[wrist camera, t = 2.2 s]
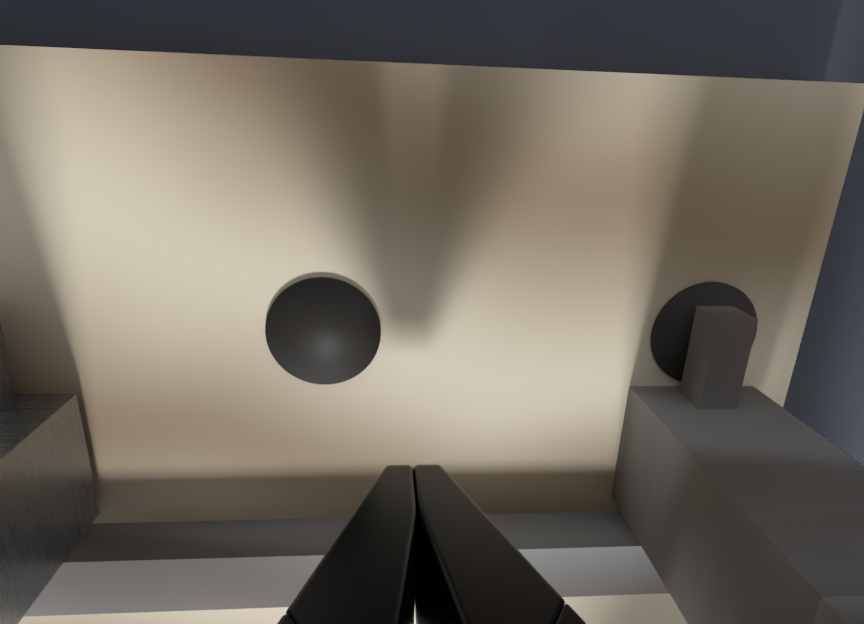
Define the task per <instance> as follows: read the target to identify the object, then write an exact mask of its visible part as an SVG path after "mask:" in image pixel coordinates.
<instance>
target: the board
mask: <svg viewBox="0 0 864 624" xmlns="http://www.w3.org/2000/svg"><path fill="white" fill-rule="evenodd" d="M863 111H864V83H844V82H822V81H799V80H777V79H754V78H732V77H710V76H687V75H665V74H642V73H620V72H598V71H575V70H553V69H530V68H508V67H485V66H463V65H441V64H418V63H396V62H373V61H351V60H329V59H306V58H284V57H261V56H239V55H216V54H194V53H172V52H149V51H127V50H104V49H82V48H60V47H37V46H15V45H0V323H1V328H2V332H3V336H4V340H5V345H6V349H7V353H8V357H9V362H10V366H11V370H12V374H13V379H14V383H15V387H16V391H17V394H77V399H78V404H79V410H80V415H81V420H82V425H83V430H84V435H85V440H86V445H87V450H88V455H89V460H90V465H91V471H92V476H93V481H94V486H95V491H96V496H97V501H98V506H99V511H100V514H99V515H98V516H97V518H96V519H95V520H94V522H93V523H92V524H91V526H90V527H89V528H88V530H87V531H86V532H85V534H84V535H83V537H82V538H81V539H80V541H79V542H78V543H77V545H76V546H75V547H74V549H73V550H72V551H71V553H70V554H69V555H68V557H67V558H66V560H65V561H64V562H63V564H62V565H61V566H60V568H59V569H58V570H57V572H56V573H55V574H54V576H53V577H52V578H51V580H50V581H49V583H48V584H47V585H46V587H45V588H44V589H43V591H42V592H41V593H40V595H39V596H38V597H37V599H36V600H35V601H34V603H33V604H32V606H31V607H30V608H29V610H28V611H27V612H26V614H25V615H24V616H23V618H22V619H21V620H20V622H19V623H18V624H277V623H278V622H279V620H280V619H281V617H282V616H283V615H286V611H287V609H288V608H289V606H290V605H291V603H292V602H293V601H294V599H295V598H296V596H297V595H298V593H299V592H300V590H301V589H302V587H303V586H304V585H305V583H306V582H307V580H308V579H309V577H310V576H311V574H312V573H313V571H314V570H315V569H316V567H317V566H318V564H319V563H320V561H321V560H322V558H323V557H324V555H325V554H326V553H327V551H328V550H329V548H330V547H331V545H332V544H333V542H334V541H335V539H336V538H337V537H338V535H339V534H340V532H341V531H342V529H343V528H344V526H345V525H346V523H347V522H348V521H349V519H350V518H351V516H352V515H353V513H354V512H355V510H356V509H357V507H358V506H359V505H360V503H361V502H362V500H363V499H364V497H365V496H366V494H367V493H368V491H369V490H370V489H371V487H372V486H373V484H374V483H375V481H376V480H377V478H378V477H379V475H380V474H381V473H382V471H383V470H384V468H385V467H386V466H388V465H410V466H412V468H414V466H416V465H427V464H438V465H440V466H441V467H442V468H443V469H444V470H445V471H446V472H447V473H448V474H449V475H450V476H451V477H452V479H453V480H454V481H455V482H456V483H457V484H458V485H459V486H460V487H461V488H462V489H463V491H464V492H465V493H466V494H467V495H468V496H469V497H470V498H471V499H472V500H473V501H474V503H475V504H476V505H477V506H478V507H479V508H480V509H481V510H482V511H483V512H484V513H485V514H486V516H487V517H488V518H489V519H490V520H491V521H492V522H493V523H494V524H495V525H496V526H497V528H498V529H499V530H500V531H501V532H502V533H503V534H504V535H505V536H506V537H507V538H508V539H509V541H510V542H511V543H512V544H513V545H514V546H515V547H516V548H517V549H518V550H519V551H520V553H521V554H522V555H523V556H524V557H525V558H526V559H527V560H528V561H529V562H530V563H531V564H532V566H533V567H534V568H535V569H536V570H537V571H538V572H539V573H540V574H541V575H542V576H543V578H544V579H545V580H546V581H547V582H548V583H549V584H550V585H551V586H552V587H553V588H554V589H555V591H556V592H557V593H558V594H559V595H560V596H561V597H562V598H563V599H564V601H565V604H568V605H570V607H571V608H572V609H573V610H574V611H575V612H576V613H577V614H578V615H579V616H580V617H581V618H582V620H583V621H584V622H585V623H586V624H864V466H863V465H862V464H860V463H859V462H858V461H856V460H855V459H853V458H852V457H851V456H849V455H848V454H847V453H845V452H844V451H842V450H841V449H840V448H838V447H837V446H835V445H834V444H833V443H831V442H830V441H829V440H827V439H826V438H824V437H823V436H822V435H820V434H819V433H817V432H816V431H815V430H813V429H812V428H811V427H809V426H808V425H806V424H805V423H804V422H802V421H801V420H799V419H798V418H797V417H795V416H794V415H792V414H791V413H790V412H788V411H787V410H786V409H784V408H783V406H784V402H785V399H786V395H787V391H788V388H789V384H790V380H791V376H792V373H793V369H794V365H795V362H796V358H797V354H798V351H799V347H800V343H801V340H802V336H803V332H804V328H805V325H806V321H807V317H808V314H809V310H810V306H811V303H812V299H813V295H814V292H815V288H816V284H817V281H818V277H819V273H820V269H821V266H822V262H823V258H824V255H825V251H826V247H827V244H828V240H829V236H830V233H831V229H832V225H833V222H834V218H835V214H836V210H837V207H838V203H839V199H840V196H841V192H842V188H843V185H844V181H845V177H846V174H847V170H848V166H849V162H850V159H851V155H852V151H853V148H854V144H855V140H856V137H857V133H858V129H859V126H860V122H861V118H862V115H863ZM414 624H416V615H415V610H414Z"/></svg>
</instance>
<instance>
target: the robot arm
mask: <svg viewBox="0 0 864 624" xmlns="http://www.w3.org/2000/svg"><path fill="white" fill-rule="evenodd" d="M414 610H415V615H416V624H586V623H585V622H584V621H583V620H582V618H581V617H580V616H579V615H578V614H577V613H576V612H575V611H574V610H573V609H572V608H571V607H570V605H568V604H565V601H564V599H563V598H562V597H561V596H560V595H559V594H558V593H557V592H556V591H555V589H554V588H553V587H552V586H551V585H550V584H549V583H548V582H547V581H546V580H545V579H544V578H543V576H542V575H541V574H540V573H539V572H538V571H537V570H536V569H535V568H534V567H533V566H532V564H531V563H530V562H529V561H528V560H527V559H526V558H525V557H524V556H523V555H522V554H521V553H520V551H519V550H518V549H517V548H516V547H515V546H514V545H513V544H512V543H511V542H510V541H509V539H508V538H507V537H506V536H505V535H504V534H503V533H502V532H501V531H500V530H499V529H498V528H497V526H496V525H495V524H494V523H493V522H492V521H491V520H490V519H489V518H488V517H487V516H486V514H485V513H484V512H483V511H482V510H481V509H480V508H479V507H478V506H477V505H476V504H475V503H474V501H473V500H472V499H471V498H470V497H469V496H468V495H467V494H466V493H465V492H464V491H463V489H462V488H461V487H460V486H459V485H458V484H457V483H456V482H455V481H454V480H453V479H452V477H451V476H450V475H449V474H448V473H447V472H446V471H445V470H444V469H443V468H442V467H441V466H440V465H438V464H427V465H416V466H414V468H412V466H410V465H388V466H386V467H385V468H384V470H383V471H382V473H381V474H380V475H379V477H378V478H377V480H376V481H375V483H374V484H373V486H372V487H371V489H370V490H369V491H368V493H367V494H366V496H365V497H364V499H363V500H362V502H361V503H360V505H359V506H358V507H357V509H356V510H355V512H354V513H353V515H352V516H351V518H350V519H349V521H348V522H347V523H346V525H345V526H344V528H343V529H342V531H341V532H340V534H339V535H338V537H337V538H336V539H335V541H334V542H333V544H332V545H331V547H330V548H329V550H328V551H327V553H326V554H325V555H324V557H323V558H322V560H321V561H320V563H319V564H318V566H317V567H316V569H315V570H314V571H313V573H312V574H311V576H310V577H309V579H308V580H307V582H306V583H305V585H304V586H303V587H302V589H301V590H300V592H299V593H298V595H297V596H296V598H295V599H294V601H293V602H292V603H291V605H290V606H289V608H288V609H287V611H286V615H283V616H282V617H281V619H280V620H279V622H278V623H277V624H414Z"/></svg>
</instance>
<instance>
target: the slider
mask: <svg viewBox="0 0 864 624" xmlns="http://www.w3.org/2000/svg"><path fill="white" fill-rule="evenodd" d="M99 514H100V511H99V506H98V501H97V496H96V491H95V486H94V481H93V476H92V471H91V465H90V460H89V455H88V450H87V445H86V440H85V435H84V430H83V425H82V420H81V415H80V410H79V404H78V399H77V394H17V391H16V387H15V383H14V379H13V374H12V370H11V366H10V362H9V357H8V353H7V349H6V345H5V340H4V336H3V332H2V328H1V323H0V624H18V623H19V622H20V620H21V619H22V618H23V616H24V615H25V614H26V612H27V611H28V610H29V608H30V607H31V606H32V604H33V603H34V601H35V600H36V599H37V597H38V596H39V595H40V593H41V592H42V591H43V589H44V588H45V587H46V585H47V584H48V583H49V581H50V580H51V578H52V577H53V576H54V574H55V573H56V572H57V570H58V569H59V568H60V566H61V565H62V564H63V562H64V561H65V560H66V558H67V557H68V555H69V554H70V553H71V551H72V550H73V549H74V547H75V546H76V545H77V543H78V542H79V541H80V539H81V538H82V537H83V535H84V534H85V532H86V531H87V530H88V528H89V527H90V526H91V524H92V523H93V522H94V520H95V519H96V518H97V516H98V515H99Z"/></svg>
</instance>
